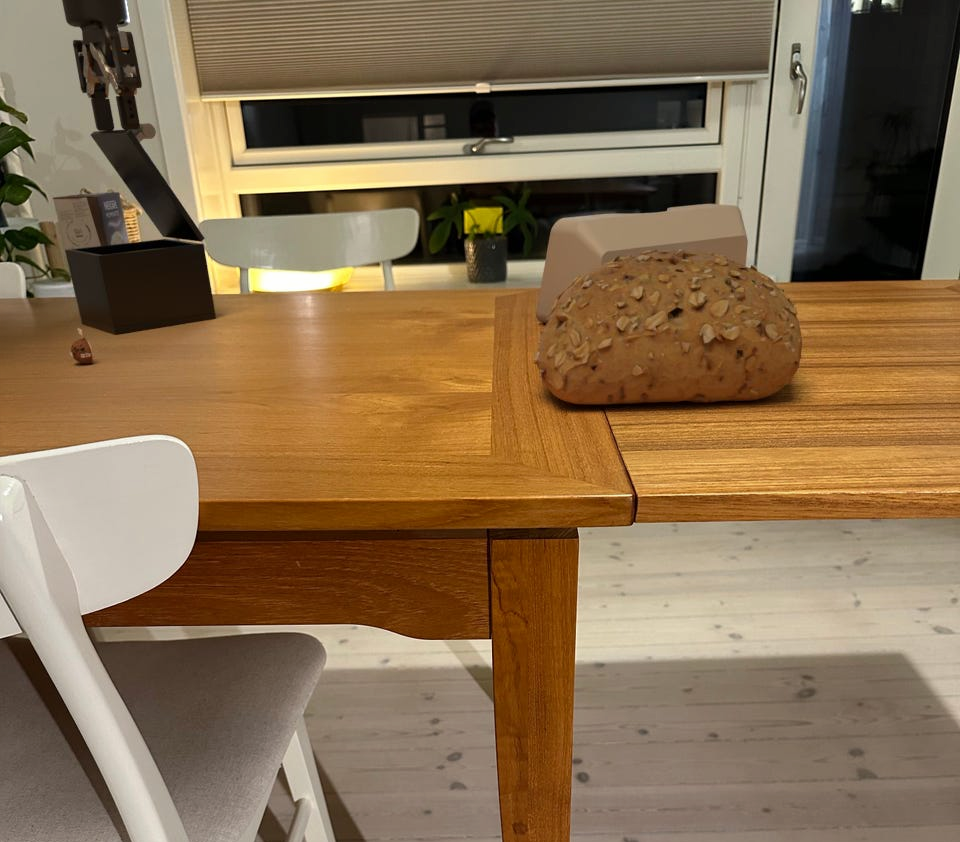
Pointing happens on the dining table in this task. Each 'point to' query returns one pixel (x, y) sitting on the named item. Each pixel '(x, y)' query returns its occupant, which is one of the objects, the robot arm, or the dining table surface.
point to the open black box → (141, 285)
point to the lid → (147, 181)
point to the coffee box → (91, 220)
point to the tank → (636, 241)
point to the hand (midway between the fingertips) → (118, 130)
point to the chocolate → (82, 350)
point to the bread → (669, 332)
